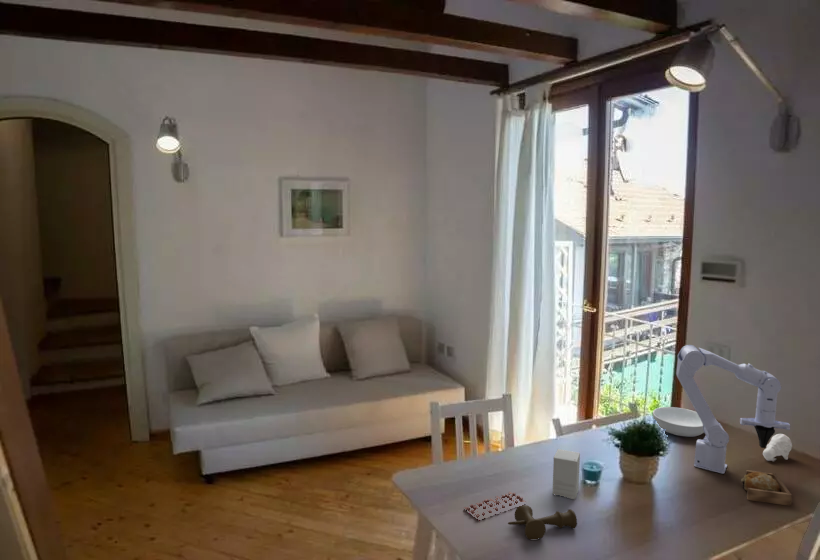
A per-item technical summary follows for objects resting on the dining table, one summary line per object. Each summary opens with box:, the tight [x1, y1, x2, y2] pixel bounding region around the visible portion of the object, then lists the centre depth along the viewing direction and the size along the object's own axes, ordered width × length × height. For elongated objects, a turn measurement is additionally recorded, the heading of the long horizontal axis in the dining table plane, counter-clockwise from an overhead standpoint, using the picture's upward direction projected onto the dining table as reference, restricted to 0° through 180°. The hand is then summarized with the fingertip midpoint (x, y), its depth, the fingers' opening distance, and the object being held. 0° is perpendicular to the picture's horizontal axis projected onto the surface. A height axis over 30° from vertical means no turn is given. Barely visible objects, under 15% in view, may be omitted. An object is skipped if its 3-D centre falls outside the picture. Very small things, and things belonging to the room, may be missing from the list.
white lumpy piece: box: [762, 433, 793, 462], centre depth 203 cm, size 6×8×12 cm
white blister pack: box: [463, 491, 526, 518], centre depth 169 cm, size 7×19×2 cm, turn 122°
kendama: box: [507, 504, 578, 540], centre depth 157 cm, size 6×10×20 cm
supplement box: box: [552, 448, 581, 500], centre depth 177 cm, size 7×7×13 cm
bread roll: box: [740, 471, 780, 492], centre depth 180 cm, size 10×10×8 cm
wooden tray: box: [744, 469, 793, 507], centre depth 180 cm, size 12×15×4 cm
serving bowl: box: [652, 406, 705, 437], centre depth 227 cm, size 21×21×7 cm
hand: (762, 446), depth 191 cm, fingers closed
